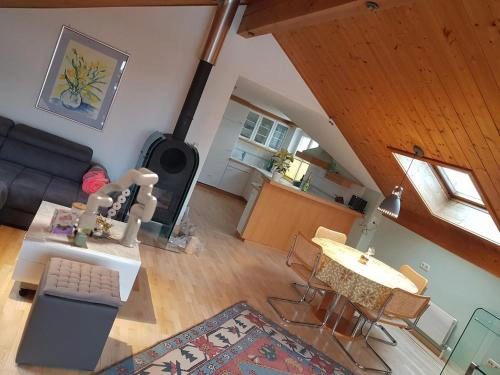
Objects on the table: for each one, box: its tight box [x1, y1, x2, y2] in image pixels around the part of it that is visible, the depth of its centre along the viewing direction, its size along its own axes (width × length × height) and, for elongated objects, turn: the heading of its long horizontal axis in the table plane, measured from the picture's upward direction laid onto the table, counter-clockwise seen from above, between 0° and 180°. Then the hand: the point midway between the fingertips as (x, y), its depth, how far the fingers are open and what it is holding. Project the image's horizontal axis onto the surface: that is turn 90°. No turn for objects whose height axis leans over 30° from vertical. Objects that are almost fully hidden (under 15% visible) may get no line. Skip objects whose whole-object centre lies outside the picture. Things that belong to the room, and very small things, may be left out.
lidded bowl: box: [70, 202, 87, 219], centre depth 305 cm, size 13×13×11 cm
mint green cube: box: [74, 232, 88, 246], centre depth 256 cm, size 5×5×7 cm
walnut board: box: [66, 232, 89, 249], centre depth 260 cm, size 11×18×5 cm, turn 35°
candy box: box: [47, 207, 78, 236], centre depth 263 cm, size 14×6×16 cm, turn 131°
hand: (82, 235), depth 256 cm, fingers open, 9 cm apart
